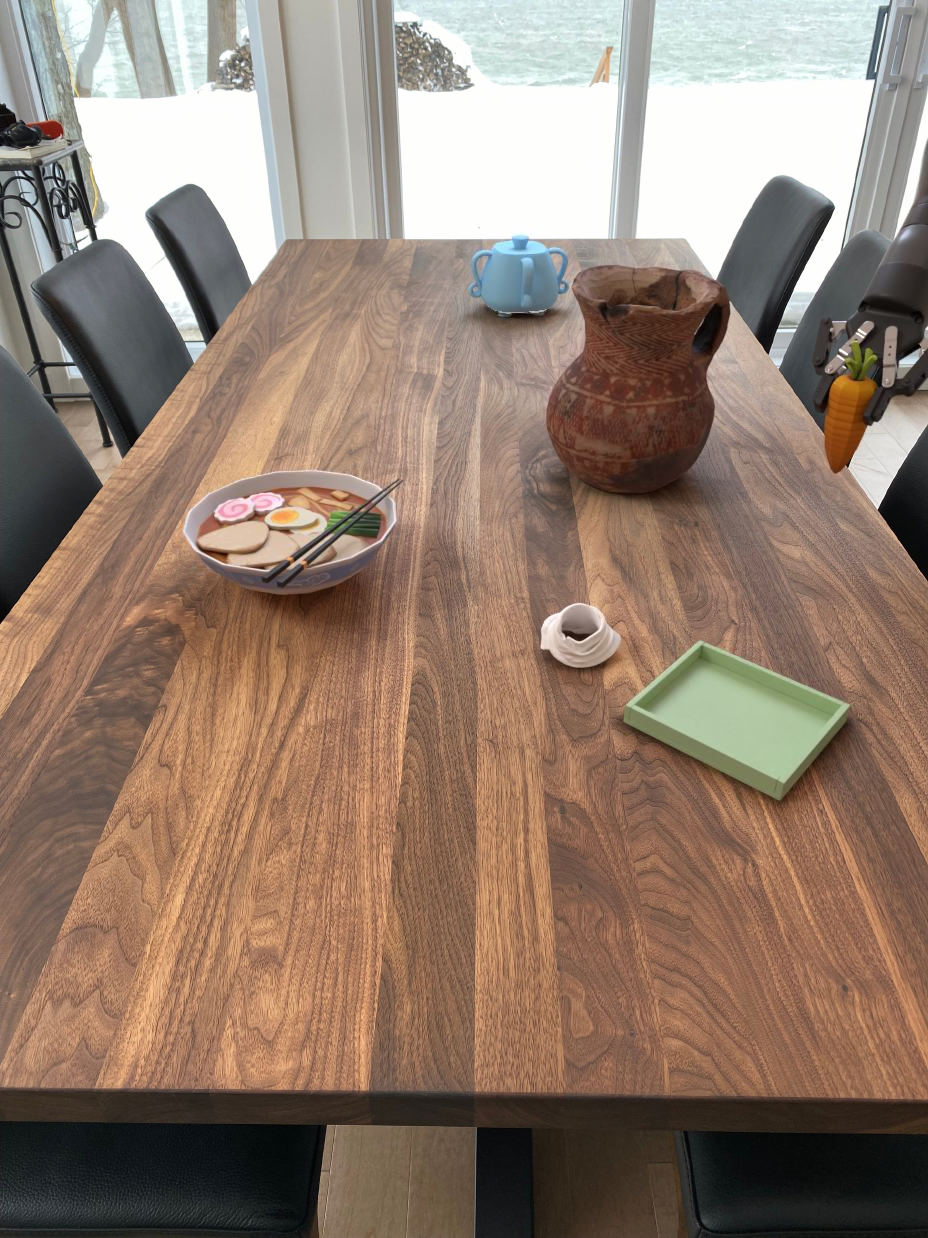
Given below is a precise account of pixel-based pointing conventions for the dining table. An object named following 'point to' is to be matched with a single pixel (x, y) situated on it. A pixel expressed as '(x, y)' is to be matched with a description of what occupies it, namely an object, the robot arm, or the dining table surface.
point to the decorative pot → (519, 276)
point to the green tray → (738, 717)
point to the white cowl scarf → (579, 622)
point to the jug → (639, 377)
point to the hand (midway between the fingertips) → (842, 415)
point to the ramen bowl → (291, 529)
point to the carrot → (848, 409)
